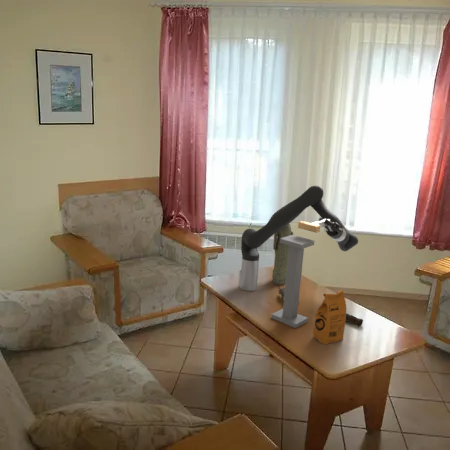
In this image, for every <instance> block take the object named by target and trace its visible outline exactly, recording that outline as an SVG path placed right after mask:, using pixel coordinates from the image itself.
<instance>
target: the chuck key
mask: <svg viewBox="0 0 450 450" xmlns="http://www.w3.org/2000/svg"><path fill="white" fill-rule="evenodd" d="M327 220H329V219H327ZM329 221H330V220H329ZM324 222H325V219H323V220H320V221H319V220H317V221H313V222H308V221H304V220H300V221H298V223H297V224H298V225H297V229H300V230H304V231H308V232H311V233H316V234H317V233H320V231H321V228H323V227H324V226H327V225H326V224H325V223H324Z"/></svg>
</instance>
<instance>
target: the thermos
mask: <svg viewBox="0 0 450 450" xmlns="http://www.w3.org/2000/svg"><path fill="white" fill-rule="evenodd" d="M291 226H292V225H291V223H289V224H288V225H286V226H285V227H283V228H282V229H280V230H279V231H278V232H276V233H275V234H274V235H273V246H272V247H273V250H274V262H273V263H274V264H273V269H272V273H271V274H272V276H271V277H272V281H271V282H272V283H273V284H275V285H277V286H278V285H279V286H282V285H284V286H285V283H286V272H287V261H288V251H289V245H286V244H283V243H280V238H283V237H287V236H290V235H294V232H293V231H292V227H291Z"/></svg>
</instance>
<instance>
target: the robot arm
mask: <svg viewBox="0 0 450 450" xmlns="http://www.w3.org/2000/svg"><path fill="white" fill-rule="evenodd" d="M323 197H324V189H323V188H322V187H321V186H320V185H311V186H310V187H308V188H307V189H306V190H304V192H303V193H302V194H300V195H299V196H298V197H297V198H295V199H293V200H292V201H290V202H288V203H287V204H285V205H284V206H282V207H281V208H279V209H277V211H275V212H274V214H272V215H271V217H269V220H268V221H267V222H266V223H265V224H264V225H263V226H262V227H261V228H259V229H257V230H256V229H253V228H247V229H245V230H244V231H243V233H242V235H241V241H240V242H241V243H240V244H241V249H240V251H241V256H242V257H241V270H239V279H238V288H240V289H241V290H242V291H247V292H253V291H256V290H257V289H258V279H259V278H258V277H259V266H260V265H259V264H260V252H259V251H258V248H260V247H261V246H262V245H263V244H265V242H267V241H269V240H270V238H271V237H272V236H274V234H275V233H276V232H278V231H279V230H280V229H282V228H283V227H285V226H286V225H288V224H291V223H292V222H293V221H294V220H295V219H296V218H298V217H299V216H300V215H301V214H302V213H304V210H306V209H307V208H309V207H311V208H312V209H313V210H314V211H315V212H316V213H317V214H318V215H319V216H320V217H319V218H318V221H320V220H323V219H325V222H324V223H325V224H326V225H327V226H324V227H322V228H323V229H324V230H325V232H326V234H327V236H328V237H329V238H331V239H332V240H333V241H336V243H337V245H338V247H339V249H340V250H341V251H342V252H348V251H350V250H351V249H353V247H355V246H357V245H358V243H359V238H358V237H357V236H356V235H355V234H354V233H353V232H351V231H350V230H349V229H348V228H347V227H345V225H344V224H343V223H342V221H341V220H340V218H339V217H338V216H337V215H336V214H335V213H334V212H332V211H331V210H330V209H329V208H328V207H327V205H326V204H325V202H324V201H323ZM327 219H329V220H330V221H329V220H327Z"/></svg>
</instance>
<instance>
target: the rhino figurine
mask: <svg viewBox="0 0 450 450" xmlns="http://www.w3.org/2000/svg"><path fill="white" fill-rule="evenodd" d="M284 293H285V286H283V287H280V286H278V294H279V295H280V296H281V298H280V300H283V301H284Z"/></svg>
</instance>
